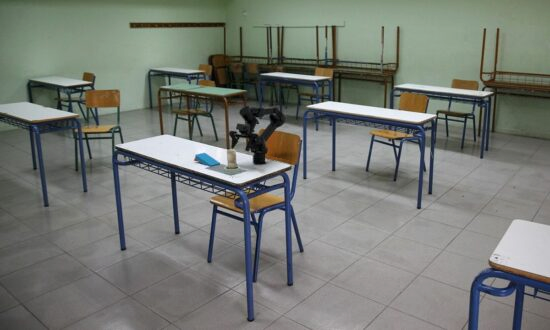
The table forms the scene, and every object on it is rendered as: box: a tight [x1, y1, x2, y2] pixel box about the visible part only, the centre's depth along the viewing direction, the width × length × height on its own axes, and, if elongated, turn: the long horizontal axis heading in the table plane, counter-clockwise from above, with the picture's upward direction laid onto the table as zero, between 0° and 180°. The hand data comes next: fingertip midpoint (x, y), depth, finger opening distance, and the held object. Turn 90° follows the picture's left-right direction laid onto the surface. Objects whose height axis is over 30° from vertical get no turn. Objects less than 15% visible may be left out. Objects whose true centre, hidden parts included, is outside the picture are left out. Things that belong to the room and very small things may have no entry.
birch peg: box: [226, 148, 238, 169], centre depth 254 cm, size 5×5×12 cm
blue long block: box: [193, 152, 221, 167], centre depth 275 cm, size 7×7×18 cm
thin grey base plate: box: [205, 163, 247, 177], centre depth 261 cm, size 22×12×4 cm, turn 47°
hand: (238, 149), depth 258 cm, fingers open, 9 cm apart
